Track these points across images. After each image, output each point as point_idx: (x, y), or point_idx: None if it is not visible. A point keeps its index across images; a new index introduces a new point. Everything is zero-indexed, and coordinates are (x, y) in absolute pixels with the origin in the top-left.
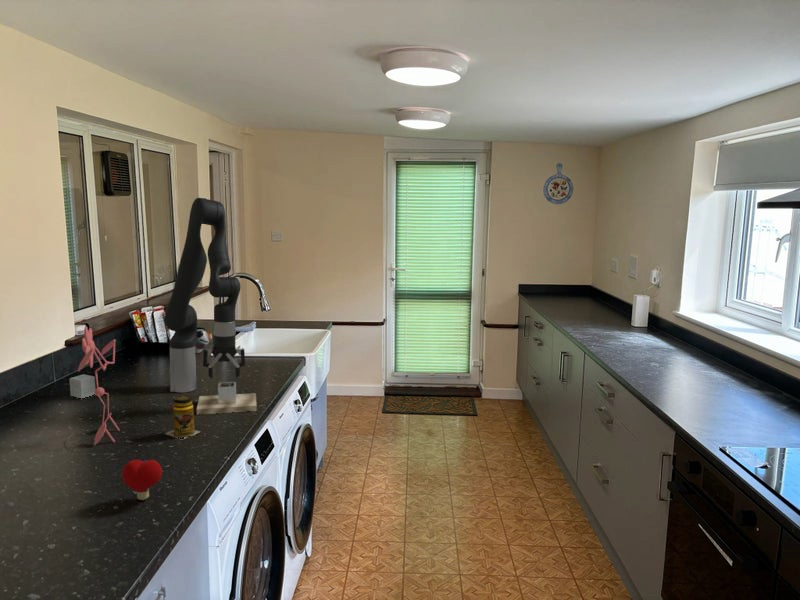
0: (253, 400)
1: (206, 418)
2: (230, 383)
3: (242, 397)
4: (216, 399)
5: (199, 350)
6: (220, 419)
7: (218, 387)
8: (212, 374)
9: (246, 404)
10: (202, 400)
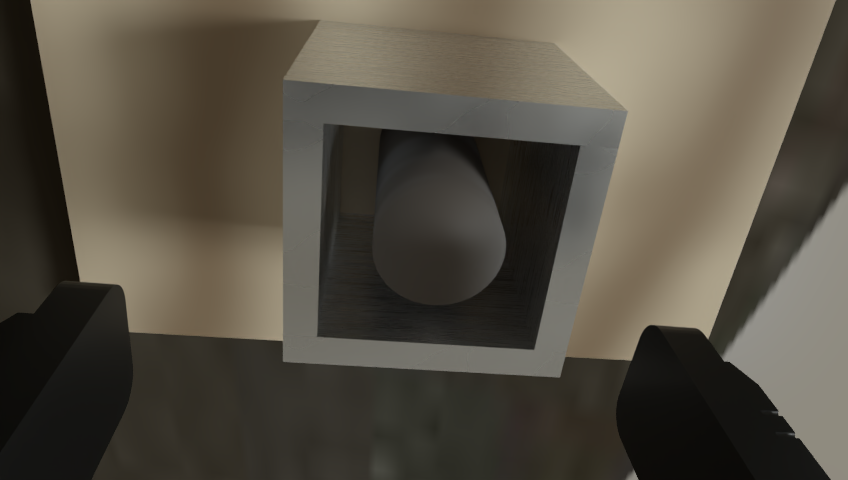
0: (725, 208)
1: (221, 390)
2: (511, 135)
3: (634, 57)
4: (284, 47)
5: None
6: (342, 432)
7: (290, 351)
8: (95, 465)
9: (614, 313)
10: (91, 40)
